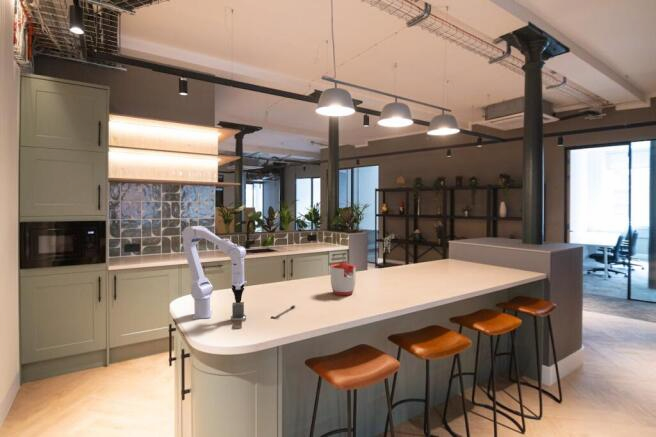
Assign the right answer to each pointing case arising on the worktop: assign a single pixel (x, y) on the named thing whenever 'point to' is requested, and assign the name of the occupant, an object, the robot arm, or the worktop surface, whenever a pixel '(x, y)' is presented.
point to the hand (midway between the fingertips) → (238, 301)
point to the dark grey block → (238, 310)
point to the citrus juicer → (343, 278)
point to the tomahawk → (283, 312)
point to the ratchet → (238, 322)
